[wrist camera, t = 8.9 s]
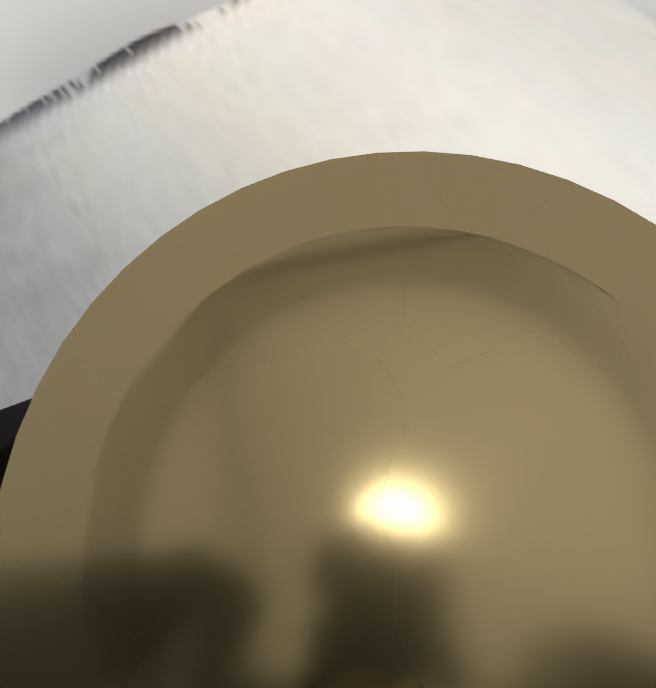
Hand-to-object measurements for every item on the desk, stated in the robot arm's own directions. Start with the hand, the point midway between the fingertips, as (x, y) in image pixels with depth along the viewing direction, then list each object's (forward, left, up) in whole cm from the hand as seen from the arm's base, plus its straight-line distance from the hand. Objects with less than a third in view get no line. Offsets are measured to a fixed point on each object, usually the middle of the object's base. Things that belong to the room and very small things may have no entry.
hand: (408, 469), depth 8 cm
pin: (-1, 0, -8) cm, 8 cm away
